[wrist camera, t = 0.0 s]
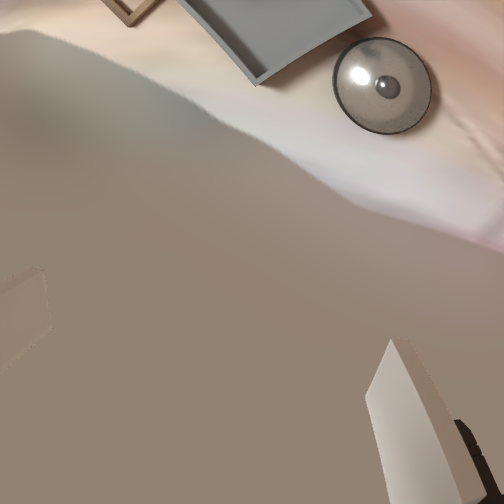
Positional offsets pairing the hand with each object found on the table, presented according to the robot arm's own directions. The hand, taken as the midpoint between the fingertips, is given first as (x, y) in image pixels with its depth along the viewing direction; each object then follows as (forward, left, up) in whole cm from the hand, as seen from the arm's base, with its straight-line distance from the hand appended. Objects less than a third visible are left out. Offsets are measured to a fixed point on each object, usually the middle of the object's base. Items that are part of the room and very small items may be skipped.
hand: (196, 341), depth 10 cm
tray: (-9, -12, -28) cm, 32 cm away
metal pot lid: (-13, +2, -28) cm, 31 cm away
